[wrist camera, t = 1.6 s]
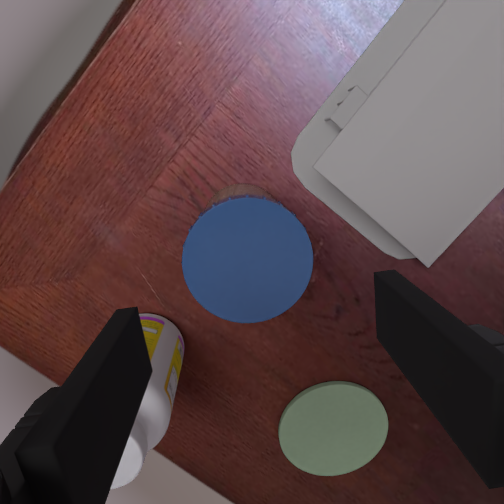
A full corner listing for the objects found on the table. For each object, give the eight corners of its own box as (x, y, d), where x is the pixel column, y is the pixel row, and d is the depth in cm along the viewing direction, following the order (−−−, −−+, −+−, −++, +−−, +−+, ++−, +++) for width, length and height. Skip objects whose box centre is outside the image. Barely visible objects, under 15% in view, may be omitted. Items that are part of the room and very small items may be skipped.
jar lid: (196, 320, 23) (193, 332, 22) (173, 203, 21) (169, 207, 20) (313, 303, 23) (319, 314, 22) (302, 184, 21) (307, 187, 20)
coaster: (284, 478, 39) (285, 483, 38) (272, 389, 36) (272, 393, 35) (387, 462, 39) (390, 467, 38) (384, 372, 36) (386, 376, 35)
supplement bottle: (95, 339, 33) (15, 453, 21) (151, 296, 32) (102, 388, 20) (146, 388, 35) (100, 521, 23) (200, 348, 34) (183, 463, 22)
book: (276, 163, 30) (282, 166, 26) (486, -105, 26) (530, -148, 22) (408, 272, 33) (431, 288, 29) (614, 50, 29) (671, 36, 25)
